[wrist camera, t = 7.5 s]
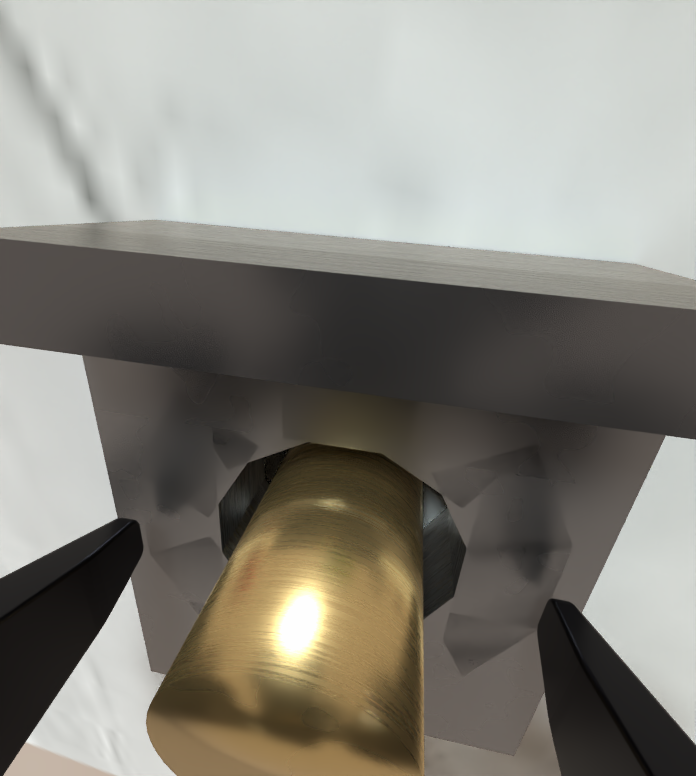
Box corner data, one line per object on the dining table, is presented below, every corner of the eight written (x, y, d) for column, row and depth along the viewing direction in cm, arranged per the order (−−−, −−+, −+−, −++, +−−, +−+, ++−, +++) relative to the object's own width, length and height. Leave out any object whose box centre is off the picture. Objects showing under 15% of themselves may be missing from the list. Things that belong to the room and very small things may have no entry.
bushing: (412, 533, 13) (402, 862, 6) (288, 511, 13) (163, 797, 7) (433, 422, 11) (449, 719, 5) (289, 401, 11) (125, 646, 5)
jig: (495, 650, 14) (531, 859, 10) (198, 589, 15) (106, 748, 11) (635, 264, 9) (874, 328, 4) (154, 220, 10) (-70, 231, 5)
